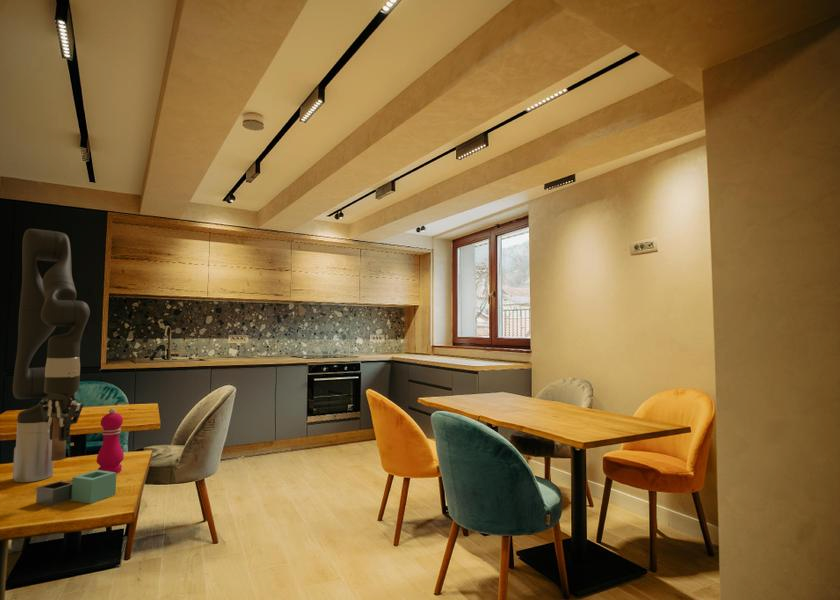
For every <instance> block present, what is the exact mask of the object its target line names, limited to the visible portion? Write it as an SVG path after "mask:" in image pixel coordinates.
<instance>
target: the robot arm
mask: <svg viewBox="0 0 840 600" xmlns="http://www.w3.org/2000/svg"><path fill="white" fill-rule="evenodd" d="M21 247H22V251H21V252H22V253H21V254H22V259H21V260H22V265H21V266H22V269H21V270H22V273H21V274H22V279H21V281H22V283H21V289H20V290H21V291H20V300H19V301H20V302H19V310H18V311H19V312H18V330H17V333H18V334H17V335H18V336H17V348H16V349H17V351H16V359H15V364H14V372H13V373H14V374H13V379H12V381H13V382H12V393H13V397H14V398H15V399H17V400H28V399H31V400H32V399H41V398H43V399H42V400H41V401H39V403H38V404H36V405H34V406H32V407H30V408H27V409H24V410H22V411H19V412H18V414H17V418H16V419H17V420H16V421H17V422H16V436H15V438H16V440H15V447H14V449H13V466H12V480H13V481H14V482H16V483H31V482H38V481H42V480H46V479H48V478H51V477H52V476H53V475H54V465H55V464H54V462H55V461H51V451H52V431H53V417H52V416H51V413H52V412H57V417H58V418H59V419H60V426H61V427H59V441H65V440H66V441H68V440H69V439H70V434H71V433H70V432H71V426H72V425H74V424H77V423H78V421H79V418H80V416H81V412H82V410H83V408H84V403H83V402H78V401H77V399H76V396H75V394H76V393H77V392H79V390H80V379H81V376H80V375H81V359H80V357H81V356H80V355H81V342H82V341H81V340H82V337H83V333H84V330H85V328H86V325H87V323H88V321H89V317H90V315H91V309H90V307H89V305H88V303H86V302H85V301H83V300H76V299H77V290H76V287H75V282H74V279H73V275H72V274H73V273H72V271H73V270H72V250H71V242H70V237H69V236H68V235H67V234H66V233H65V232H60V231H56V230H55V231H54V230H45V229H38V228H28V229H26V230H25V232H24V234H23V236H22V245H21ZM37 261H45V262H56V263H55V264H54V265H52V266H51V267H50V268H49V269H48V270H46V272H45V274H43V278H42V276H41V273H40V271H39V268H38V265H37ZM57 327H71V328H70V329H69V331H68V332H66V333H62V334H55V335H53V336H51V334H52V333H53V332H54V331H55V329H56V328H57ZM47 339H48V341H47ZM45 341H47V351H46V352H47V353H46V362H45V367H42V366H41V367H30V363H31V362H32V359H33V357H34V355H35V354H36V353H37V351H38V350H39V348H40V347H41V346H42V344H44V342H45ZM66 412H68V414H62V413H66ZM65 417H67V418H66V420H65V419H64V418H65Z"/></svg>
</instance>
